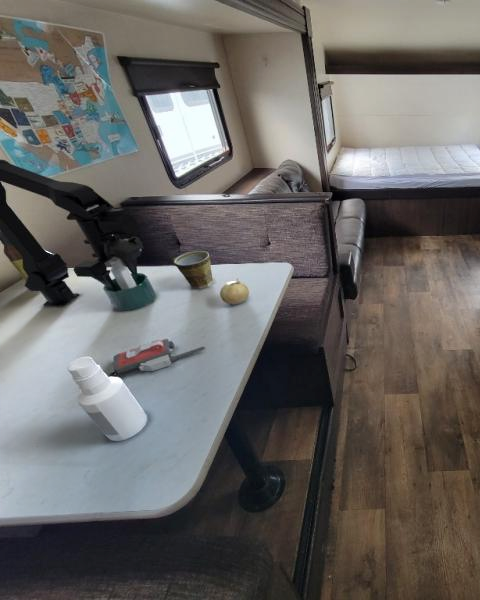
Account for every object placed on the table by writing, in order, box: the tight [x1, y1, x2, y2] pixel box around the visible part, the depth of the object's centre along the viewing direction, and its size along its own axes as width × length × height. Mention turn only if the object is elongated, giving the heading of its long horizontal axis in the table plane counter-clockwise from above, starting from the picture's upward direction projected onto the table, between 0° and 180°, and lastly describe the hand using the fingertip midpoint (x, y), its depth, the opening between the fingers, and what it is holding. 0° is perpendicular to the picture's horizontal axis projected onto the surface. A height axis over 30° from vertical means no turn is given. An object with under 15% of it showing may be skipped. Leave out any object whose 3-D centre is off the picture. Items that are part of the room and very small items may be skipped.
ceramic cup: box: [171, 250, 214, 290], centre depth 111 cm, size 13×10×10 cm
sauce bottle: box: [0, 231, 28, 282], centre depth 109 cm, size 7×6×20 cm
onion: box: [219, 277, 250, 306], centre depth 103 cm, size 8×8×7 cm
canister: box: [102, 272, 157, 312], centre depth 104 cm, size 11×11×7 cm
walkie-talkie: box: [108, 338, 206, 378], centre depth 83 cm, size 9×4×20 cm
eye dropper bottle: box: [109, 257, 137, 290], centre depth 100 cm, size 4×6×12 cm
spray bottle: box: [66, 356, 148, 442], centre depth 63 cm, size 7×7×18 cm
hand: (125, 281), depth 102 cm, fingers closed on eye dropper bottle, 8 cm apart
